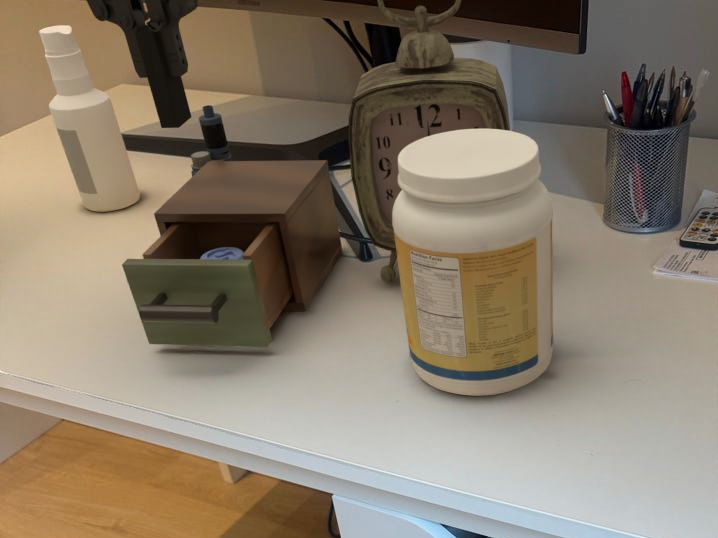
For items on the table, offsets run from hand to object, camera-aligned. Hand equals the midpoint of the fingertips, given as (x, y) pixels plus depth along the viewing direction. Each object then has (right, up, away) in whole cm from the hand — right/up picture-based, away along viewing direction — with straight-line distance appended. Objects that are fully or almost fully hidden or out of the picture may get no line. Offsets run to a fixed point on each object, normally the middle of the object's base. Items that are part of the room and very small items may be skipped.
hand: (176, 122), depth 73 cm
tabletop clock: (+21, -4, +19) cm, 28 cm away
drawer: (+1, -12, +11) cm, 17 cm away
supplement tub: (+25, -18, +5) cm, 31 cm away
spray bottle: (-21, +12, +38) cm, 45 cm away
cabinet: (+3, -5, +19) cm, 20 cm away
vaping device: (-4, +5, +30) cm, 30 cm away
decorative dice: (+1, -10, +12) cm, 16 cm away
